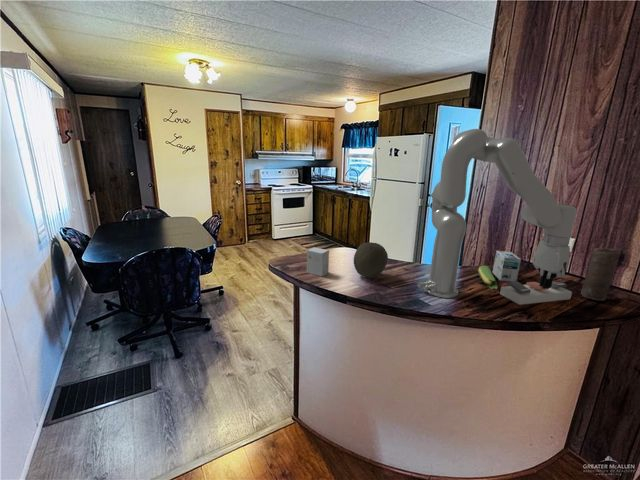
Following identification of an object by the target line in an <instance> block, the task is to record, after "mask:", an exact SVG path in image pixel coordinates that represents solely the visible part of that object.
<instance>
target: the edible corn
mask: <svg viewBox="0 0 640 480" xmlns="http://www.w3.org/2000/svg"><path fill="white" fill-rule="evenodd" d="M476 270H477V273H478V276H479V277H480V279H481V280H482V282H483V283H484V285H485V286H486V287H488V288H489V289H492V290H494V289H495V290H498V282H497V280H496V278H495V277H494V275H493V274H494V273H493V271H492V270H491V268H490V267H489V266H487V265H481V266H478V267H477V269H476Z"/></svg>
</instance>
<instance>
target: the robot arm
mask: <svg viewBox="0 0 640 480" xmlns="http://www.w3.org/2000/svg"><path fill="white" fill-rule="evenodd" d="M472 159H474V160H478V161H482V162H487V163H493V164H495V166H496V167H497V169H498V171H499V173H500V175H501V176H502V179H503V180H504V183H505V184H506V186H507V188H509V190H511V191H512V192H513V193H514V194H515V195H517V196H518V197H520V198H521V199H522V200H523V201H524V202H525V203H526V205H525V206H524V207H523V208H522V209H521V211H520V216H521V218H522V219H523V220H524V222H526V223H528V224H531V225H533V226H537V227H539V228H541V229H544V232H543V233H542V234H541V238H542V240H540V241H539V243H538V245H537V247H536V250H535V252H534V256H533V259H532V265H533V267H534V268H535V269H537V270H538V272H539V277H540V282H539V283H540V285H539V286H541V287H543V288H544V289H546V288H551V286H552V281H554V279H556V278H564V277H565V276H566V275H565V273H566V272H567V271H568V266H569V264H570V263H569V262H570V255H571V247H570V246H569V245H570V240H571V238H572V237H571V236H572V231H573V228H574V223H575V220H576V215H577V208H576V207H574V206H571V205H567V204H566V205H565V204H558V203H557V201H556V199H555V197H554V196H553V194H552V192H551V191H550V190H549V189H548V187H547V186H546V185H545V184H544V183H543V182H542V181H541V179H540V178H539V177H537V176H536V174H535V172H534V171H533V168H532V167H531V165H530V163H529V161H528V160H527V157H526V155H525V153H524V152H523V149H522V148H521V146H520V144H519V142H518V141H517V140H516V139H515V138H512V137H502V138H495V137H491V136H490V137H489V136H488V135H487V133H486V132H485V131H484V130H483V129H480V128H471V129H468V130H464V131H461V132H458V134H457V135H455V137H454V138H453V141H452V144H451V145H450V146H449V147H448V149H447V150H446V151H445V154H444V156H443V159H442V163H441V171H440V181H439V182H437V184H436V185H435V186H434V188H433V191H432V195H431V196H432V197H431V200H432V201H431V222H432V226H433V227H434V228H435V230H436V235H435V238H434V242H433V249H432V255H431V256H432V257H431V264H430V268H429V269H430V270H429V277H428V278H426V280H425V281H419V282H417V285H416V286H417V287H418V288H423V290H424V291H425V293H427V294H429V295H432V296H434V297H437V298H443V299H451V298H452V299H453V298H456V297H458V295H459V290H458V288H456V283H457V282H456V281H457V276H458V269H459V262H460V256H461V250H462V245H463V241H464V237H465V235H466V233H467V232H466V231H467V222H466V219H465V218H464V216H463V215H462V214H461V213H459V212H458V207H460V206H461V205H462V204H464V202H465V200H466V197H467V177H468V176H467V175H468V171H469V170H468V169H469V165H470V163H471V161H472Z"/></svg>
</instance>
